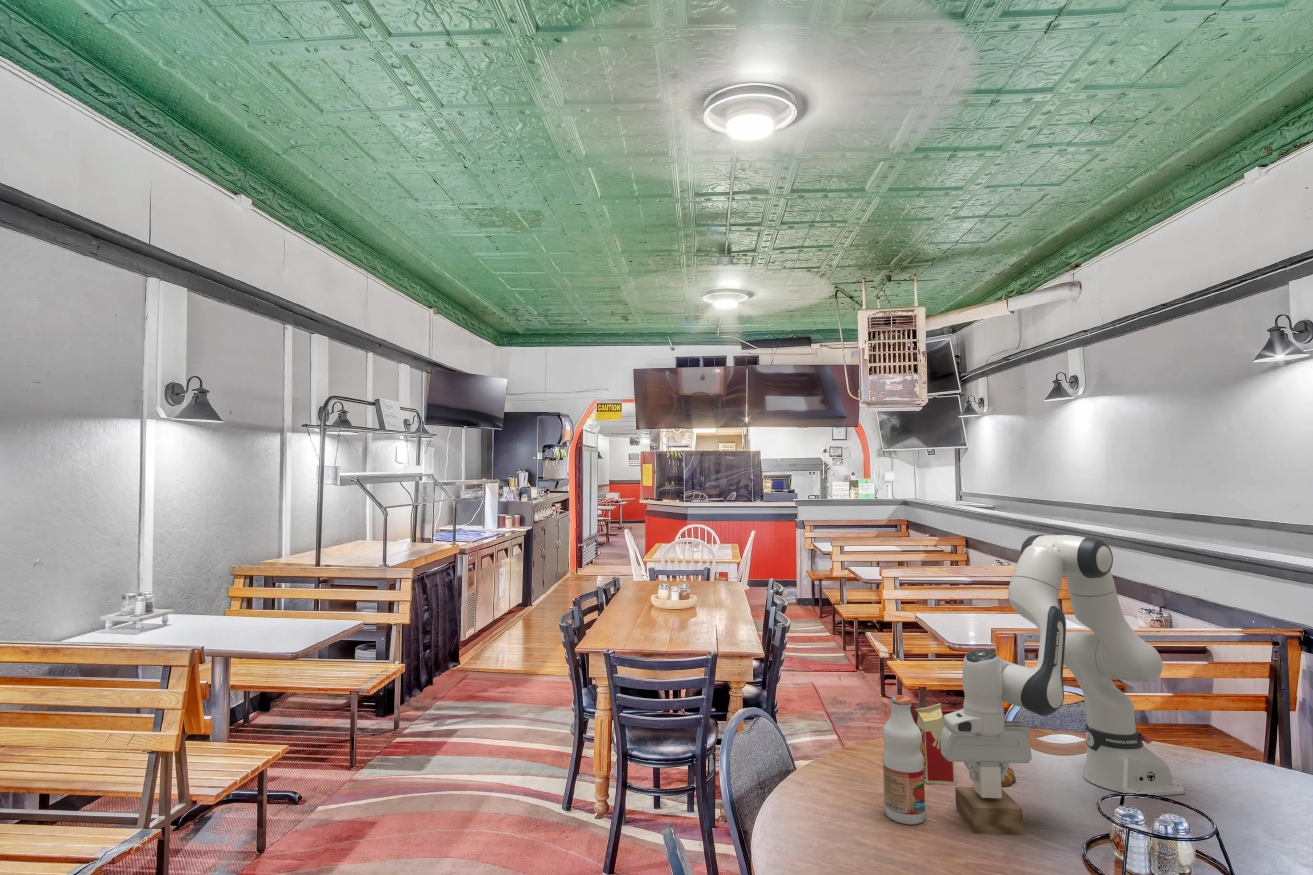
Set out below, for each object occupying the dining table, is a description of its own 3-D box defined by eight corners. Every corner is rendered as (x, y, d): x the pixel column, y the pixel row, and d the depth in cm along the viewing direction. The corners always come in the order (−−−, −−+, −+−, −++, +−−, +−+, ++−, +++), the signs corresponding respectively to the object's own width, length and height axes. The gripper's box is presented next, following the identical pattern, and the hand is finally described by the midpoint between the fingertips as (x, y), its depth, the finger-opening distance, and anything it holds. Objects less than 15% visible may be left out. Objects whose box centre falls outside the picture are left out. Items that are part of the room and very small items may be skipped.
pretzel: (1025, 788, 175) (1024, 774, 175) (983, 787, 175) (983, 773, 176) (1003, 769, 187) (1003, 756, 187) (965, 768, 187) (964, 755, 188)
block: (1002, 813, 161) (1000, 787, 162) (1023, 836, 150) (1022, 808, 151) (956, 811, 162) (955, 786, 162) (974, 834, 151) (973, 807, 151)
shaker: (993, 789, 159) (991, 755, 159) (1001, 798, 154) (1000, 762, 155) (973, 788, 159) (972, 754, 160) (981, 797, 154) (980, 762, 155)
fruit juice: (883, 804, 165) (880, 690, 168) (923, 809, 162) (919, 693, 165) (885, 822, 156) (881, 701, 159) (927, 828, 153) (922, 705, 156)
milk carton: (945, 771, 185) (942, 698, 187) (957, 785, 176) (953, 708, 178) (912, 769, 186) (909, 697, 188) (922, 783, 177) (919, 707, 179)
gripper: (1021, 716, 161) (1025, 775, 159) (936, 715, 162) (939, 773, 161) (1035, 725, 154) (1038, 786, 153) (946, 724, 156) (949, 784, 154)
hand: (986, 780), depth 157 cm, fingers closed on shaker, 5 cm apart
